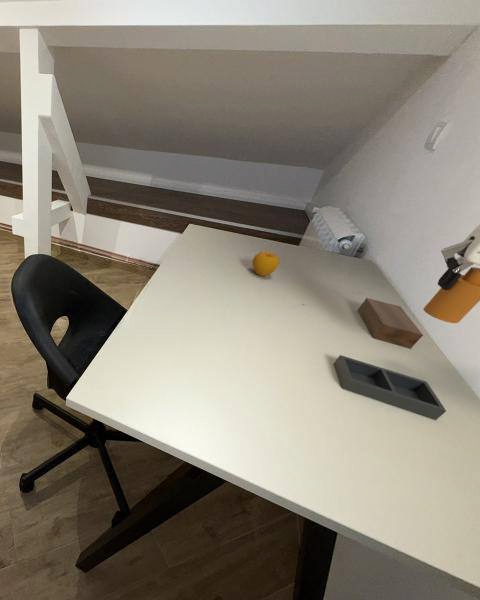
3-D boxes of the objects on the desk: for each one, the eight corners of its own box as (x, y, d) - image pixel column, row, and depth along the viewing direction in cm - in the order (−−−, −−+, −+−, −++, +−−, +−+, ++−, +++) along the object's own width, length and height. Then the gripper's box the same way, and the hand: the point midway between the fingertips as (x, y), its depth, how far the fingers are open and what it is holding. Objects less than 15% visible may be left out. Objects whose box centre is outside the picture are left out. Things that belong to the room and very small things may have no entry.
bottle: (450, 312, 72) (491, 268, 65) (465, 326, 67) (510, 280, 61) (418, 304, 73) (455, 261, 67) (430, 318, 69) (471, 272, 62)
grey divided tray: (331, 365, 78) (339, 354, 76) (416, 392, 73) (426, 381, 71) (340, 390, 71) (349, 379, 69) (433, 421, 66) (446, 411, 64)
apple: (243, 270, 120) (252, 249, 115) (258, 267, 123) (268, 247, 118) (260, 281, 113) (271, 259, 108) (277, 278, 116) (288, 257, 111)
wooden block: (390, 319, 99) (400, 306, 97) (410, 348, 87) (423, 335, 84) (357, 310, 102) (366, 297, 99) (372, 337, 90) (383, 324, 87)
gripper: (489, 204, 56) (420, 288, 66) (624, 225, 51) (528, 312, 61) (465, 195, 62) (405, 273, 72) (584, 213, 57) (502, 294, 67)
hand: (462, 291), depth 67 cm, fingers closed on bottle, 6 cm apart
